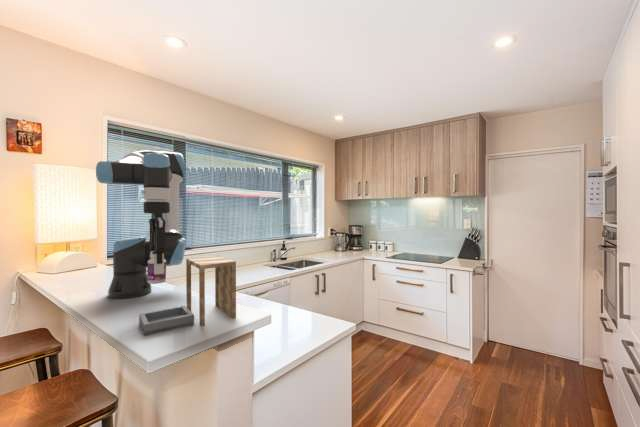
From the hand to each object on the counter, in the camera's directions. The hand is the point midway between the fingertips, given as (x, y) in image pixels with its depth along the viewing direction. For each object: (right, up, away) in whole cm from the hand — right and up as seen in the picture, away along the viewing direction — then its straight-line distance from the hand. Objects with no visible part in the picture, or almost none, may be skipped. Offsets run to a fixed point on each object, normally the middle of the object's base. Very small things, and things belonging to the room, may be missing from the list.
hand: (157, 271), depth 98 cm
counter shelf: (+17, -14, +1) cm, 23 cm away
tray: (+7, -14, -7) cm, 18 cm away
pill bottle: (0, -4, 0) cm, 4 cm away
